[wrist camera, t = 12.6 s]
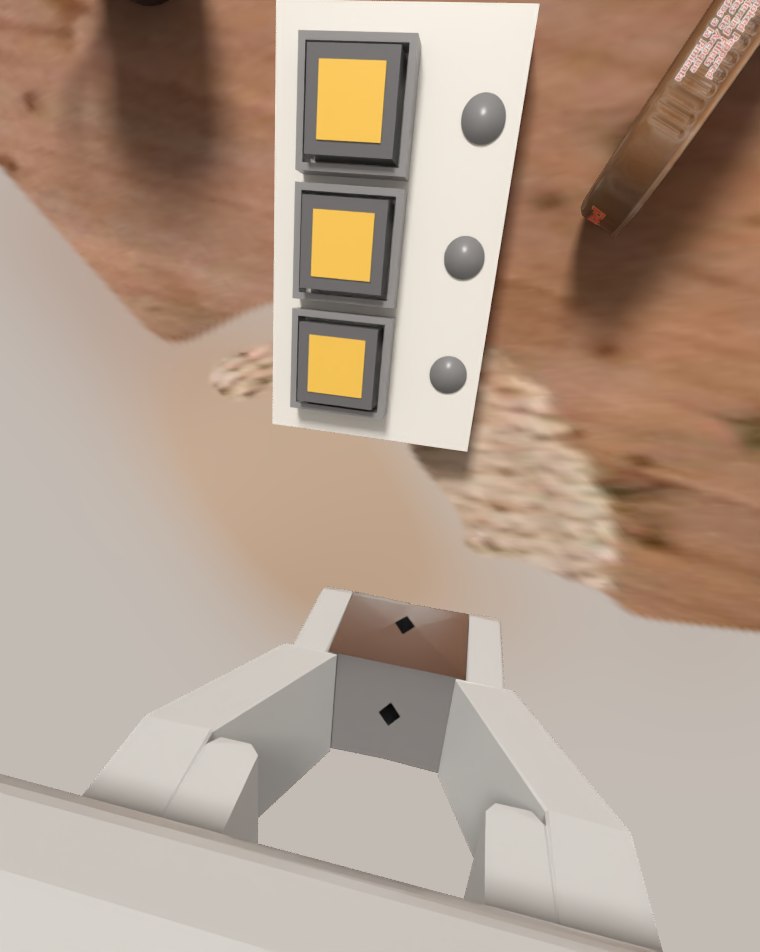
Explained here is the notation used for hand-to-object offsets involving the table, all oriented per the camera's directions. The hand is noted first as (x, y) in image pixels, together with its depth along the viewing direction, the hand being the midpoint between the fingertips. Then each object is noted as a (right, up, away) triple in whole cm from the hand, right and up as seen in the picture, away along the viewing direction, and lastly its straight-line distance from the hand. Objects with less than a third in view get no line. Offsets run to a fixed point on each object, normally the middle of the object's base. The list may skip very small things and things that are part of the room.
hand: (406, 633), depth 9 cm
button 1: (-2, +23, +20) cm, 31 cm away
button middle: (-2, +17, +22) cm, 28 cm away
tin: (+16, +24, +20) cm, 35 cm away
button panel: (0, +18, +25) cm, 31 cm away
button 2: (-3, +10, +25) cm, 27 cm away
